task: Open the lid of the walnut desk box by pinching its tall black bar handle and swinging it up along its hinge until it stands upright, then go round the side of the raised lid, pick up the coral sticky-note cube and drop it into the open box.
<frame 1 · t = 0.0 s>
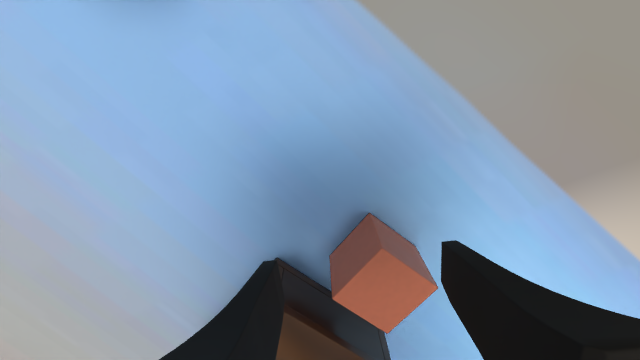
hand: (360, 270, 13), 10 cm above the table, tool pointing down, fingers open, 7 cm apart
desk box: (295, 329, 27), on the table
note cube: (372, 251, 25), on the table
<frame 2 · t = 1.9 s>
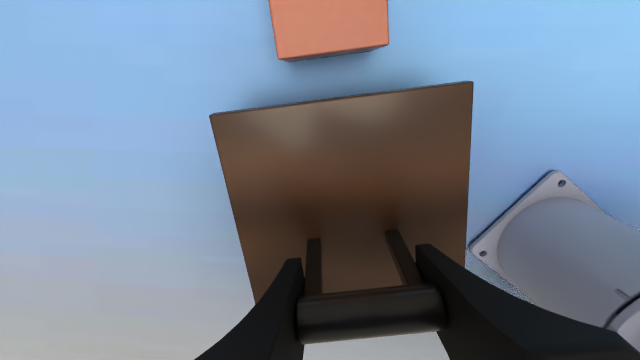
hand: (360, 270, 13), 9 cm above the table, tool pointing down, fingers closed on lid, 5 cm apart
note cube: (324, 9, 17), on the table
lid: (356, 242, 13), point 9 cm above the table, hinge at 0.0°, touching gripper
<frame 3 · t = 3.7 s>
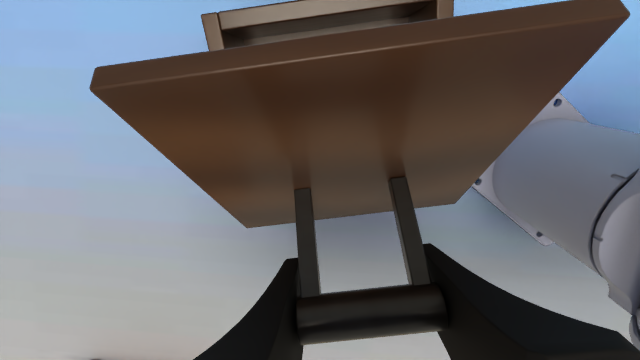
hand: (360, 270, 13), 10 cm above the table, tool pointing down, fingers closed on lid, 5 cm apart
desk box: (333, 103, 20), on the table
lid: (359, 236, 11), point 12 cm above the table, hinge at 45.4°, touching gripper
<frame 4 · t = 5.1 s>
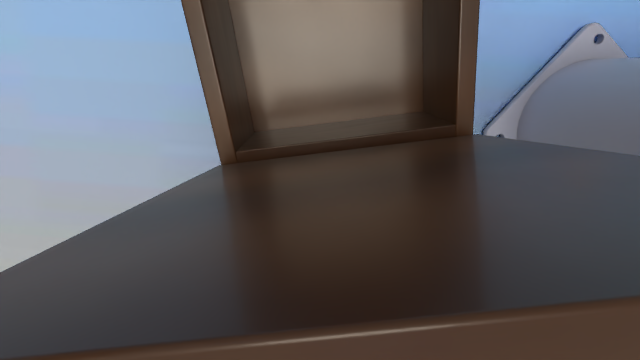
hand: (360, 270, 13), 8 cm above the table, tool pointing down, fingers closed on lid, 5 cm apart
desk box: (328, 39, 17), on the table
lid: (371, 285, 9), point 12 cm above the table, hinge at 82.0°, touching gripper
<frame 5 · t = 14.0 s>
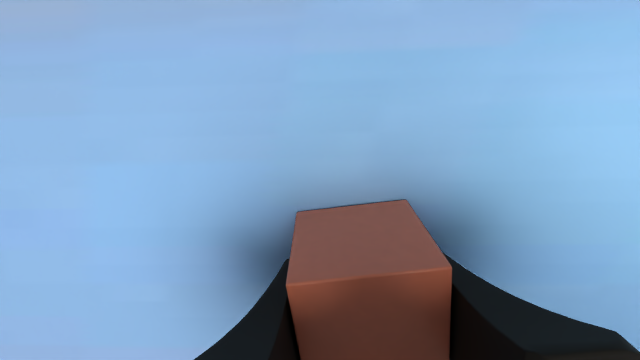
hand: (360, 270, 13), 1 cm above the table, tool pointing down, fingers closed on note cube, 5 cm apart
note cube: (355, 252, 15), on the table, touching gripper
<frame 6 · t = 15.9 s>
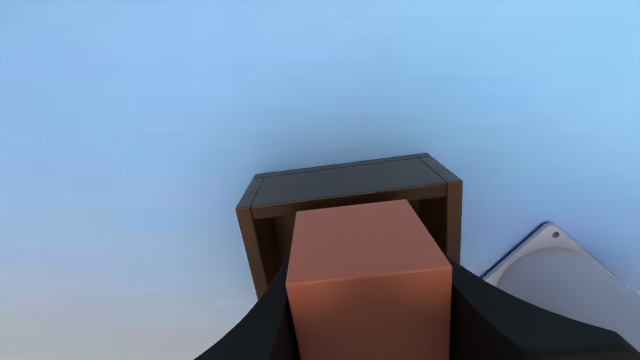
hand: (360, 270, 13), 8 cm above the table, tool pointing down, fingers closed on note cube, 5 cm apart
desk box: (347, 232, 22), on the table
note cube: (355, 251, 15), point 7 cm above the table, touching gripper
when the fingers open (2 cm above the table, at t = 18.2 s): note cube stays where it is, resting on desk box.
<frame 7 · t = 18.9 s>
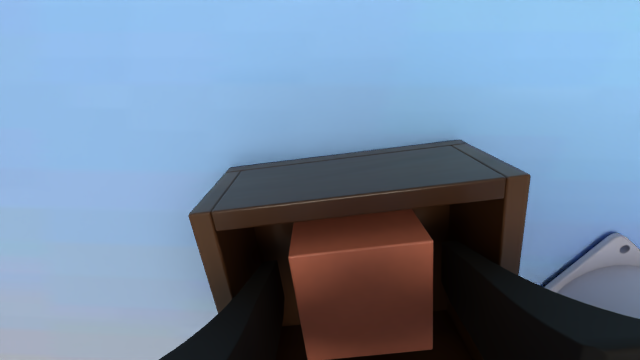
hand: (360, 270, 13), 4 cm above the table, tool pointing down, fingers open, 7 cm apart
desk box: (352, 244, 17), on the table
note cube: (351, 236, 16), point 1 cm above the table, touching desk box
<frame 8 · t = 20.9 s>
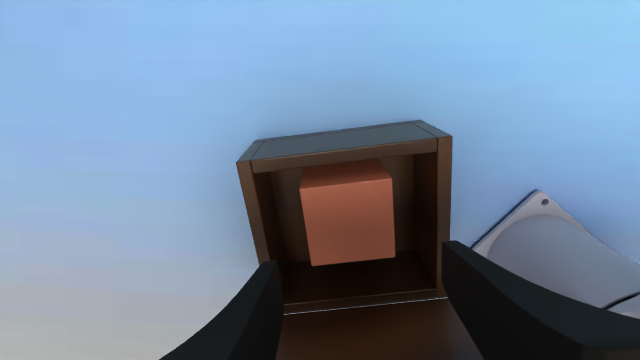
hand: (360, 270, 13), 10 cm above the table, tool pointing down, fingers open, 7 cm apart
desk box: (344, 199, 23), on the table
note cube: (342, 191, 22), point 1 cm above the table, touching desk box
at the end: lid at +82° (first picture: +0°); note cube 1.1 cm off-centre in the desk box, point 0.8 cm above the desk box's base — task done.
